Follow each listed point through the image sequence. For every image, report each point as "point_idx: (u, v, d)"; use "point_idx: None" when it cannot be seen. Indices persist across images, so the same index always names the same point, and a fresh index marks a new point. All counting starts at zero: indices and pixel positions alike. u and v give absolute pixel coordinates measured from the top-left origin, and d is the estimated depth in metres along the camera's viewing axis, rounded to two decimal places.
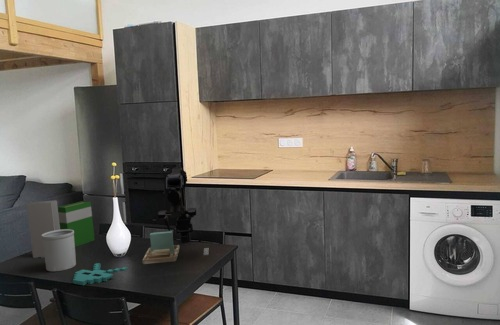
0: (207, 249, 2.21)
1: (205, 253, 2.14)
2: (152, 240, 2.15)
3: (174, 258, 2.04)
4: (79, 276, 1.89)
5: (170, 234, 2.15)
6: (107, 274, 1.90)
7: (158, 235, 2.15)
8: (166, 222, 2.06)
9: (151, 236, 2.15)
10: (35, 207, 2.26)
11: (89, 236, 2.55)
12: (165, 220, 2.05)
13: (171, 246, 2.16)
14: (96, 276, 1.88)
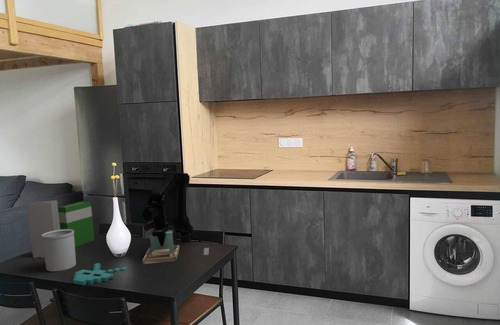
0: (207, 249, 2.21)
1: (205, 253, 2.14)
2: (152, 240, 2.15)
3: (174, 258, 2.04)
4: (79, 276, 1.89)
5: (170, 234, 2.15)
6: (107, 274, 1.90)
7: None
8: None
9: (151, 236, 2.15)
10: (35, 207, 2.26)
11: (89, 236, 2.55)
12: None
13: (171, 246, 2.16)
14: (96, 276, 1.88)
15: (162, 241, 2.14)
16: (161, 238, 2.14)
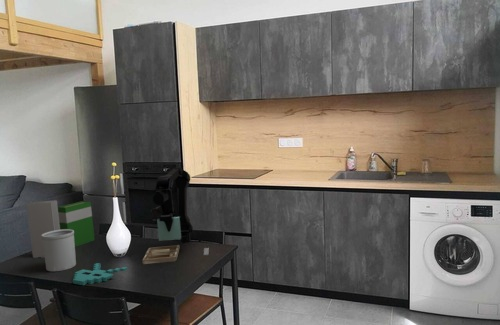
0: (207, 249, 2.21)
1: (205, 253, 2.14)
2: (159, 225, 2.14)
3: (174, 258, 2.04)
4: (79, 276, 1.89)
5: (177, 219, 2.15)
6: (107, 274, 1.90)
7: None
8: None
9: (158, 221, 2.14)
10: (35, 207, 2.26)
11: (89, 236, 2.55)
12: None
13: (178, 231, 2.15)
14: (96, 276, 1.88)
15: (169, 226, 2.14)
16: (168, 223, 2.13)
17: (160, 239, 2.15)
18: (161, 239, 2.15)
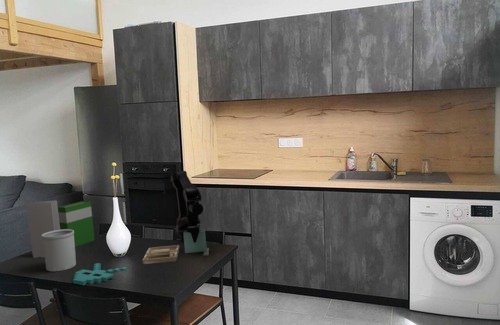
0: (207, 249, 2.21)
1: (205, 253, 2.14)
2: (185, 239, 2.15)
3: (174, 258, 2.04)
4: (79, 276, 1.89)
5: (203, 232, 2.16)
6: (107, 274, 1.90)
7: None
8: None
9: (184, 234, 2.15)
10: (35, 207, 2.26)
11: (89, 236, 2.55)
12: None
13: (204, 244, 2.16)
14: (96, 276, 1.88)
15: (195, 238, 2.14)
16: (194, 234, 2.13)
17: (186, 252, 2.16)
18: (187, 252, 2.16)
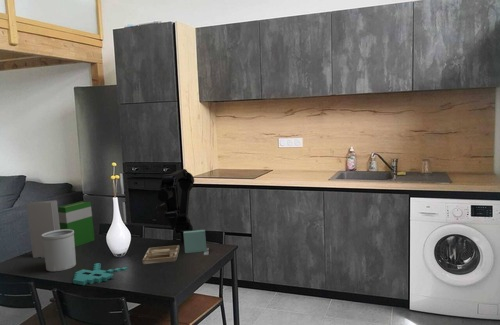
0: (207, 249, 2.21)
1: (205, 253, 2.14)
2: (185, 239, 2.15)
3: (174, 258, 2.04)
4: (79, 276, 1.89)
5: (203, 232, 2.16)
6: (107, 274, 1.90)
7: (191, 233, 2.15)
8: None
9: (184, 234, 2.15)
10: (35, 207, 2.26)
11: (89, 236, 2.55)
12: None
13: (204, 244, 2.16)
14: (96, 276, 1.88)
15: (173, 224, 2.17)
16: (172, 221, 2.17)
17: (186, 252, 2.16)
18: (187, 252, 2.16)
